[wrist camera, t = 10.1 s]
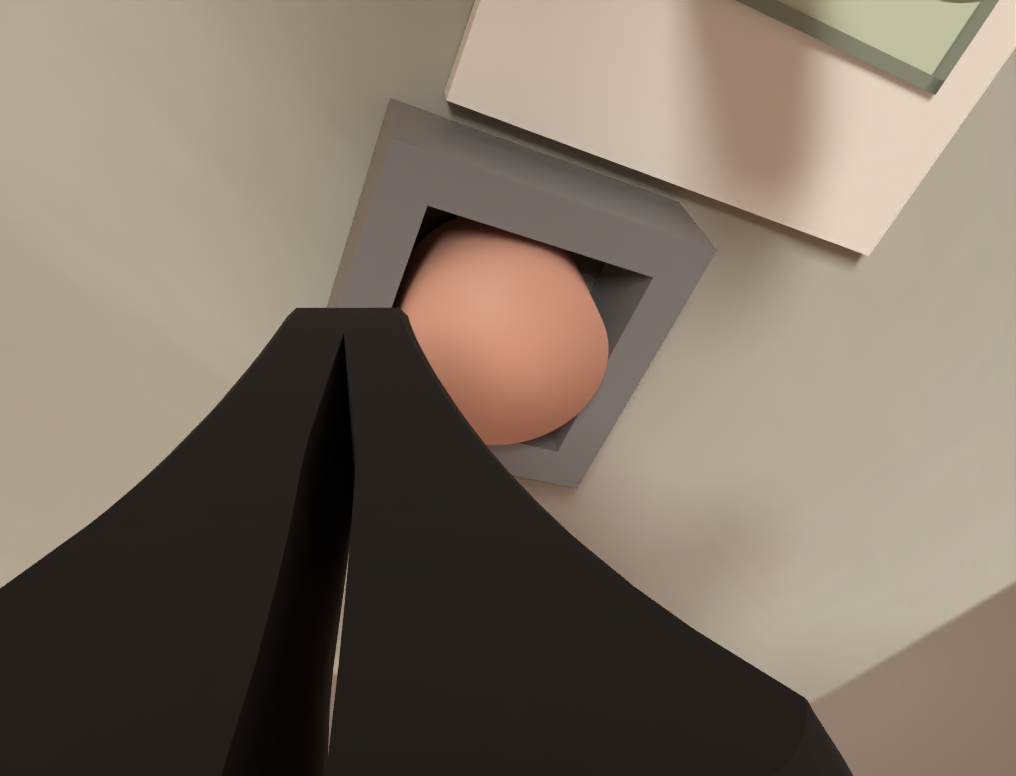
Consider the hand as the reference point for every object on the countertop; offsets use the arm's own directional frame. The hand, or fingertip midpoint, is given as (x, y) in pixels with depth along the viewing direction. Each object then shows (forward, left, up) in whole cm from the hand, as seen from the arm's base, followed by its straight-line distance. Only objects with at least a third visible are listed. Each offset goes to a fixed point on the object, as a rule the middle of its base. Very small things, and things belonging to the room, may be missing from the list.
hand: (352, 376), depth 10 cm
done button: (-4, +2, -8) cm, 9 cm away
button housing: (-4, +2, -8) cm, 9 cm away
